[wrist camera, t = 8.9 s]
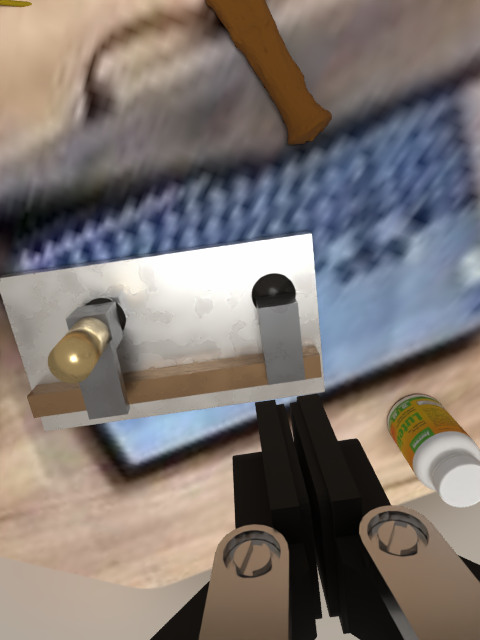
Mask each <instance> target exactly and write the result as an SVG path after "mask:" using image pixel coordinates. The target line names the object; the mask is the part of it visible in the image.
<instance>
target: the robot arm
mask: <svg viewBox="0 0 480 640" xmlns="http://www.w3.org/2000/svg"><path fill="white" fill-rule="evenodd" d="M255 406H256V413H257V420H258V427H259V434H260V441H261V449H262V452H256V453H249V454H242V455H235V456H233V480H234V503H235V526H236V529H235V530H233V531H231V532H230V533H229V534H227V535H226V536H225V537H224V538H223V539H222V541H221V542H220V543H219V544H218V547H217V550H216V552H215V557H214V562H213V567H212V572H211V578H210V581H209V582H208V583H207V584H206V585H205V586H204V587H203V588H202V589H201V590H200V591H199V592H198V593H197V594H196V595H195V596H194V597H193V598H192V599H191V600H190V601H189V602H188V603H187V604H186V605H185V606H184V607H183V608H182V609H181V610H180V611H179V612H178V613H176V615H174V617H172V618H171V619H170V620H169V621H168V622H167V623H166V624H165V625H164V626H163V627H162V628H161V629H160V630H159V631H158V632H157V633H156V634H155V635H154V636H153V637H152V638H151V639H150V640H315V639H316V637H317V632H316V624H315V623H316V622H315V619H321V618H322V612H321V602H320V592H319V582H318V573H317V567H318V571H319V575H320V579H321V583H322V587H323V592H324V596H325V600H326V604H327V608H328V612H329V616H330V617H336V616H339V619H340V622H341V626H342V630H343V633H344V634H346V633H351V634H352V635H354V636H356V637H357V638H359V639H360V640H480V565H478V564H476V563H474V562H472V561H470V560H467V559H465V558H463V557H461V556H459V555H457V554H456V552H455V551H454V550H453V549H452V548H451V547H450V545H449V544H448V543H447V541H446V540H445V539H444V538H443V536H442V535H441V534H440V533H439V532H438V530H437V529H436V528H435V526H434V525H433V524H432V523H431V522H430V521H429V520H428V519H427V518H426V517H425V516H424V515H422V514H420V513H418V512H417V511H414V510H412V509H409V508H406V507H403V506H392V505H391V504H390V502H389V500H388V498H387V496H386V494H385V492H384V490H383V488H382V486H381V484H380V482H379V480H378V478H377V476H376V474H375V472H374V470H373V468H372V466H371V464H370V462H369V460H368V458H367V456H366V454H365V452H364V450H363V448H362V446H361V444H360V442H359V440H358V439H349V440H342V441H337V439H336V436H335V434H334V431H333V429H332V427H331V424H330V422H329V419H328V417H327V415H326V412H325V410H324V408H323V405H322V403H321V400H320V398H319V396H318V394H312V395H305V396H298V397H297V402H294V403H290V411H291V420H292V429H293V437H294V441H293V437H292V433H291V429H290V426H289V422H288V418H287V414H286V410H285V407H284V404H280V405H276V402H275V400H270V401H263V402H255Z"/></svg>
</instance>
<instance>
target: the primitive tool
mask: <svg viewBox="0 0 480 640" xmlns="http://www.w3.org/2000/svg"><path fill="white" fill-rule="evenodd" d="M205 1H206V3H207V5H208V6H210V7H211V8H212V9H213V10H214V11H215V13H216V14H217V16H218V18H219V19H220V21H221V22H222V23H223V25H224V26H225V27H226V29H227V30H228V32H229V34H230V36H231V39H232V40H233V42H234V44H235V46H236V47H237V48H239V49H240V51H241V52H242V53H243V54H244V55H245V57H246V58H247V60H248V62H249V64H250V65H251V66H252V68H253V70H254V72H255V73H256V74H257V76H258V77H259V79H260V80H261V81H262V83H263V85H264V88H266V89H267V91H268V92H269V94H270V97H271V98H272V99H273V101H274V102H275V104H276V106H277V108H278V110H279V112H280V114H281V116H282V118H283V121H284V123H285V124H286V126H287V129H288V144H291V145H295V144H301V143H305V142H306V141H313V140H314V138H315V137H316V136H317V135H318V134H319V132H322V131H323V130H324V128H325V127H326V126H327V125H328V123H329V122H330V120H331V119H332V115H331V113H330V112H329V111H328V110H325V109H323V108H322V107H321V106H320V105H319V104H317V103H316V102H315V100H314V98H313V96H312V95H311V94H310V93H309V92H308V90H307V88H306V84H305V81H304V75H303V74H302V73H301V71H300V69H299V67H298V66H297V65H296V64H295V62H294V61H293V60H292V58H291V56H290V54H289V52H288V50H287V49H286V47H285V44H284V42H283V40H282V38H281V36H280V34H279V31H278V29H277V26H276V24H275V21H274V19H273V17H272V15H271V13H270V11H269V8H268V6H267V4H266V1H265V0H205Z"/></svg>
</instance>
